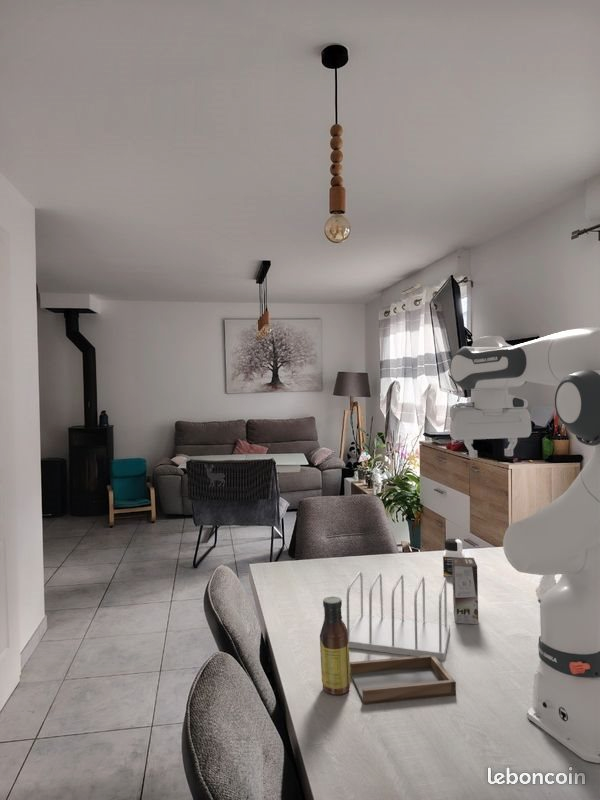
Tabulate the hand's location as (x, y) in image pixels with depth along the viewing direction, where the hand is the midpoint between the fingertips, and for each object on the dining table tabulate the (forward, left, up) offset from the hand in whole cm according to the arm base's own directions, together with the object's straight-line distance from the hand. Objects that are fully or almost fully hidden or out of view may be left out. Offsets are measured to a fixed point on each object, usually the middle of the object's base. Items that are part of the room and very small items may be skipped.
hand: (491, 456), depth 141 cm
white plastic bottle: (+58, -13, -48) cm, 77 cm away
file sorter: (+9, +23, -48) cm, 54 cm away
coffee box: (+19, 0, -48) cm, 52 cm away
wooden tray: (-13, +29, -48) cm, 57 cm away
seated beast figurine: (+26, -30, -48) cm, 63 cm away
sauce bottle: (-13, +44, -48) cm, 66 cm away
